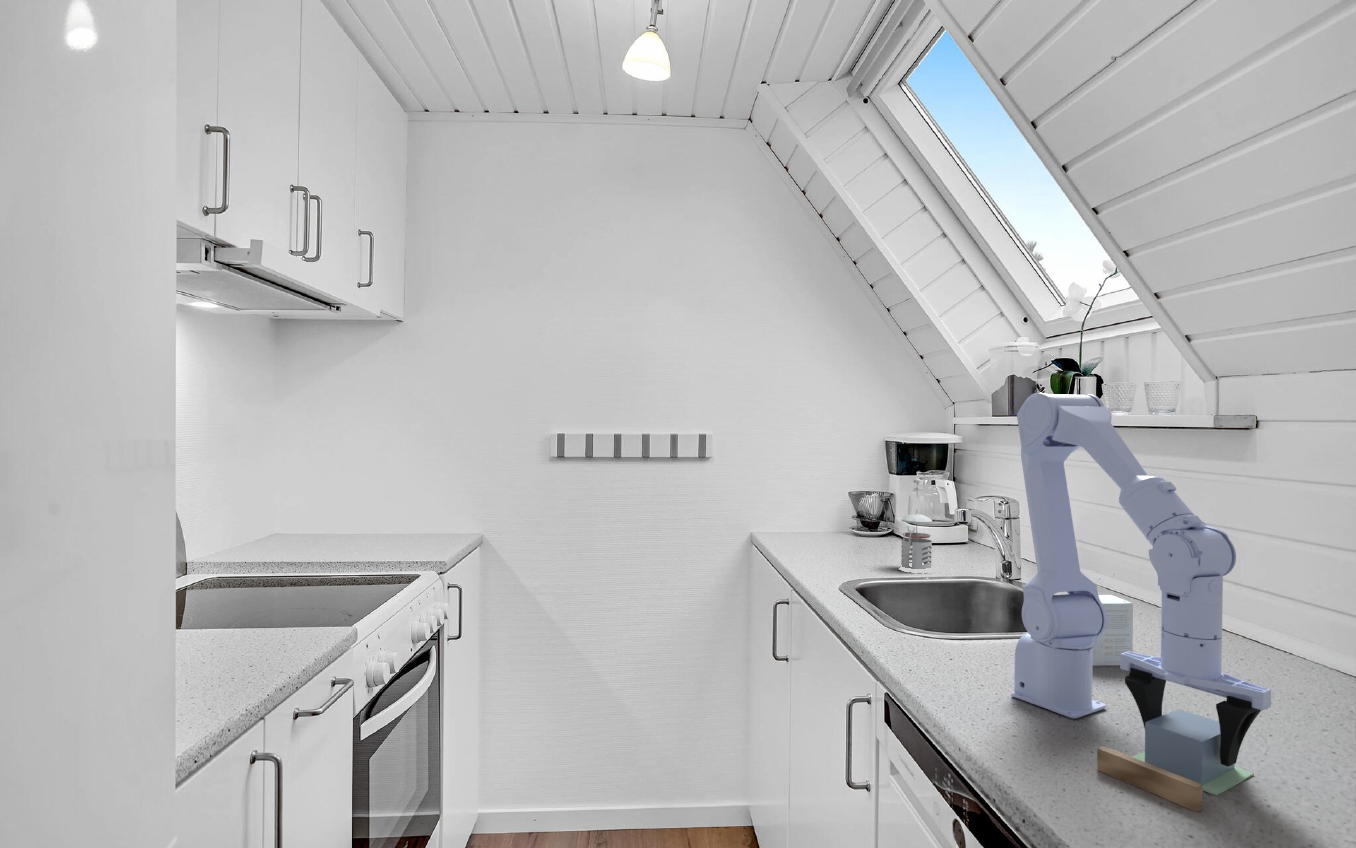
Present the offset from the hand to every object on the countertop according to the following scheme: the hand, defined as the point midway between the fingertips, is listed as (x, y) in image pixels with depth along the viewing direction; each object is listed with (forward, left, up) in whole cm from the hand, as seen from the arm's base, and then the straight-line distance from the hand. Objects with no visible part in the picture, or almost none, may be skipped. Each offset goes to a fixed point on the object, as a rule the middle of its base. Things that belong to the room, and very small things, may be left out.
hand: (1189, 749), depth 81 cm
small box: (-26, +29, -2) cm, 39 cm away
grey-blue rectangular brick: (0, 0, -2) cm, 2 cm away
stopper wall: (0, -9, -2) cm, 10 cm away
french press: (-91, +59, -2) cm, 108 cm away
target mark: (0, 0, -2) cm, 2 cm away
